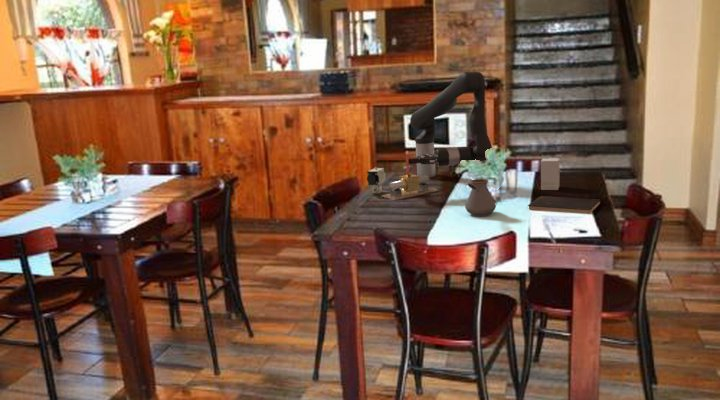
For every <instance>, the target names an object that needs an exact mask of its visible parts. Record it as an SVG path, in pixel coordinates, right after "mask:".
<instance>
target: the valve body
mask: <svg viewBox="0 0 720 400" xmlns="http://www.w3.org/2000/svg"><path fill="white" fill-rule="evenodd" d="M405 172H406V173H407V171H405ZM411 172H412V171H410V175H407V174H404V175H399V176H398V181H393V182H389V183H388V189H389V193H387V194H386V193H385V194H382V195H381V198H383V197H384V199H387V198H388V200H391V201H397V200H398V201H399V200H401V199H408V198H411V197H416V196H420V195H425V194H429V193H435V192H439V191H438V190H439V189H438V188H435V187H430V186H429V183H430V177H428V176H421V177H419V176H418V175H416V174H411Z"/></svg>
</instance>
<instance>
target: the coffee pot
mask: <svg viewBox="0 0 720 400" xmlns="http://www.w3.org/2000/svg"><path fill="white" fill-rule="evenodd" d="M469 182H470V183H466V185H464V186H465V187H464V188H465V189H467V190H468V188H467V186H468V187H469V188H470V189H471V190H470V193H469V196H468V197H467V200H466V204H465V207H464V208H465V210H466V211H467V213H468V214H470V215H471V216H473V217H487V216H490V215H492V213H493V212H494V211H495V210H496V207H497V205H496V202H495V201H494V198H493V196H492V194H491V192H490V191H489V188H488V185H487V184H488V182H489V180H488V179H483V178H477V179H473V180H472V179H471V180H470V181H469Z"/></svg>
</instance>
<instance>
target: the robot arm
mask: <svg viewBox="0 0 720 400" xmlns="http://www.w3.org/2000/svg"><path fill="white" fill-rule="evenodd" d="M465 94H473V98H474V103H473V108H472V109H471V110H472V111H471V113H470V117H469V129H470V136H471V139H472V140H473V141H474V140H475V146H470V147H467V146H461V147H448V148H447V147H446V148H445V147H444V148H438V149H435V140H434V139H435V136H436V127H435V126H436V122H435V120H436V119H435V118H438V117H441V116H444V115H445V114H446V113H449V111H451V110H453V109H454V108H455V106H456V104H457V103H458V102H457V101H458V98H459V97H460V96H462V95H465ZM485 103H486V81H485V77H484V74H483V73H481V72H480V71H464V72H461V73H460V74H459V75H458V76H457V77H455V79H454V80H453V81H452V82H451V83H450V85H448V86H447V87H446V88H444V90H442V91H441V92H439V93H438V94H437V95H436V96H434V97H433V98H432V99H431V100H430V101H429V102H428V103H427V104H425V105H424V106H423V107H421V108H420V109H418V110H416V111H414V112H413V113H412V114H411V116H410V119H409V120H410V121H409V124H410V126H411V127H412V128H413V129H414V130H415V131H416V130H418V131H421V130H422V132H421V133H420V134H418V135H417V136H416V137H415V138H414V139H415V140H414V141H415V154H416V156H415V157H411V158H409V165H416V173H417V175H418V176H419V177H421V176H428V177H429V178H433V177H436V166H437V167H447V166H454V165H460V164H461V163H460V161H461V160H475V159H476V160H480V161H479V162H483V161H486V158H485V151H486V150H487V149H490V148H492V149H493V146H492V143H491V140H490V137H489V135H488V130H487V123H486V112H485V111H486V108H485V107H486V104H485Z"/></svg>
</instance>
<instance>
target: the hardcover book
mask: <svg viewBox="0 0 720 400" xmlns="http://www.w3.org/2000/svg"><path fill="white" fill-rule="evenodd" d="M601 201H602V200H601V199H596V198H582V197H581V198H577V197H563V196H562V197H560V196H559V197H558V196H543V195H540V196H539V197H537V198H536V199H535V200H533V201H532V202H530V203H529V204H527V207H528V209H529V210H531V211H544V212H545V211H546V212H547V211H548V212H563V213H573V214H574V213H575V214H576V213H577V214H578V213H579V214H591V213H592V212H593V211H594V210H596V209H597V207H598V206H599V205H601Z"/></svg>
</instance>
